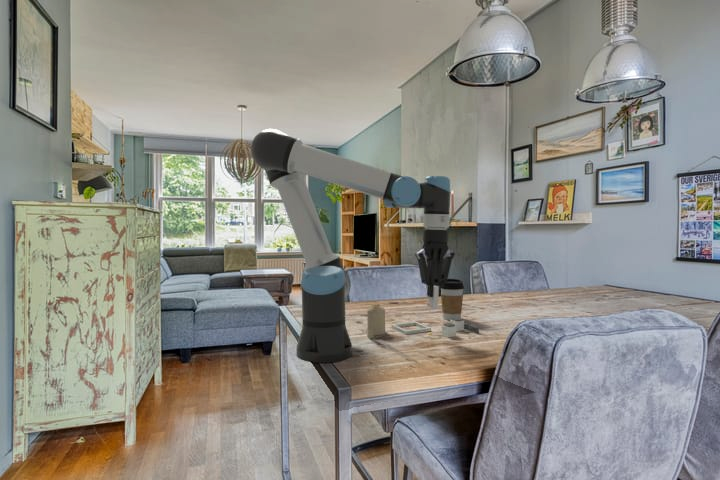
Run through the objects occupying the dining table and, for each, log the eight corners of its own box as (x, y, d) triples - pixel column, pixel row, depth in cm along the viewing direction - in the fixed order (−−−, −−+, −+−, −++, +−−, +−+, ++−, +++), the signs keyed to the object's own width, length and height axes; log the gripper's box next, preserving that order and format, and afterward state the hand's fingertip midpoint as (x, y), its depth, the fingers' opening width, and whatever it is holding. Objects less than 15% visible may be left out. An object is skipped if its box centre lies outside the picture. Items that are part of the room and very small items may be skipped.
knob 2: (456, 331, 127) (456, 320, 127) (450, 329, 130) (450, 318, 130) (463, 330, 129) (463, 319, 128) (458, 328, 131) (458, 317, 131)
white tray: (418, 347, 116) (418, 336, 116) (388, 332, 133) (388, 322, 133) (480, 338, 125) (480, 327, 125) (445, 324, 142) (445, 315, 142)
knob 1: (447, 337, 121) (447, 325, 121) (442, 334, 124) (442, 323, 123) (456, 336, 122) (456, 324, 122) (450, 333, 125) (450, 322, 125)
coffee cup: (462, 319, 149) (462, 278, 148) (465, 325, 140) (465, 282, 140) (438, 319, 150) (438, 278, 149) (441, 325, 141) (440, 282, 140)
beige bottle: (383, 339, 124) (383, 307, 124) (366, 338, 126) (365, 306, 125) (386, 334, 130) (386, 303, 129) (369, 334, 131) (369, 303, 131)
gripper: (424, 228, 116) (421, 311, 117) (461, 229, 121) (458, 308, 122) (410, 228, 122) (408, 306, 123) (446, 228, 128) (443, 303, 129)
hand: (433, 307), depth 123 cm, fingers closed
